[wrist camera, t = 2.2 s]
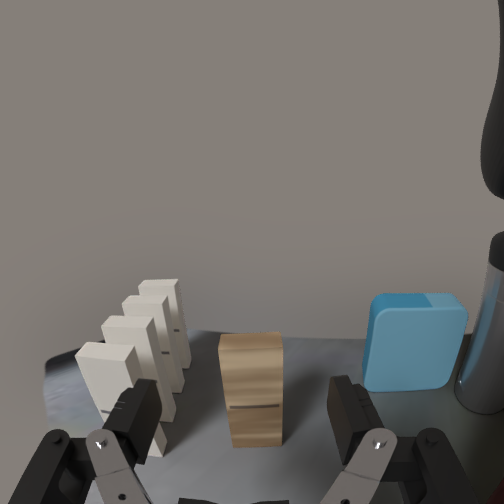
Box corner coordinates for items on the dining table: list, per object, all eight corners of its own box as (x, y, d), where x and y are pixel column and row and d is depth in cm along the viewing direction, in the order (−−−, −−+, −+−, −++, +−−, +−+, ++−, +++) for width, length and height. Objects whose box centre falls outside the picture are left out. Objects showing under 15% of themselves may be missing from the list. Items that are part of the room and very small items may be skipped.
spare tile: (281, 445, 25) (282, 347, 22) (233, 447, 25) (217, 349, 22) (280, 429, 27) (280, 331, 24) (234, 431, 27) (221, 333, 24)
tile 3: (172, 422, 28) (145, 328, 25) (133, 418, 28) (100, 326, 25) (176, 408, 31) (153, 316, 27) (139, 405, 31) (110, 315, 28)
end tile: (188, 368, 39) (174, 285, 36) (156, 367, 39) (138, 286, 36) (191, 359, 41) (178, 279, 38) (160, 358, 41) (144, 280, 38)
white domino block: (181, 393, 34) (161, 303, 30) (146, 390, 34) (121, 303, 30) (184, 381, 36) (167, 295, 33) (150, 379, 36) (129, 295, 33)
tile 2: (162, 457, 23) (124, 361, 20) (120, 450, 23) (74, 355, 20) (167, 441, 25) (134, 345, 22) (126, 435, 26) (87, 341, 22)
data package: (438, 368, 32) (458, 292, 29) (446, 388, 28) (471, 307, 25) (360, 371, 36) (371, 292, 33) (362, 393, 31) (376, 309, 28)
